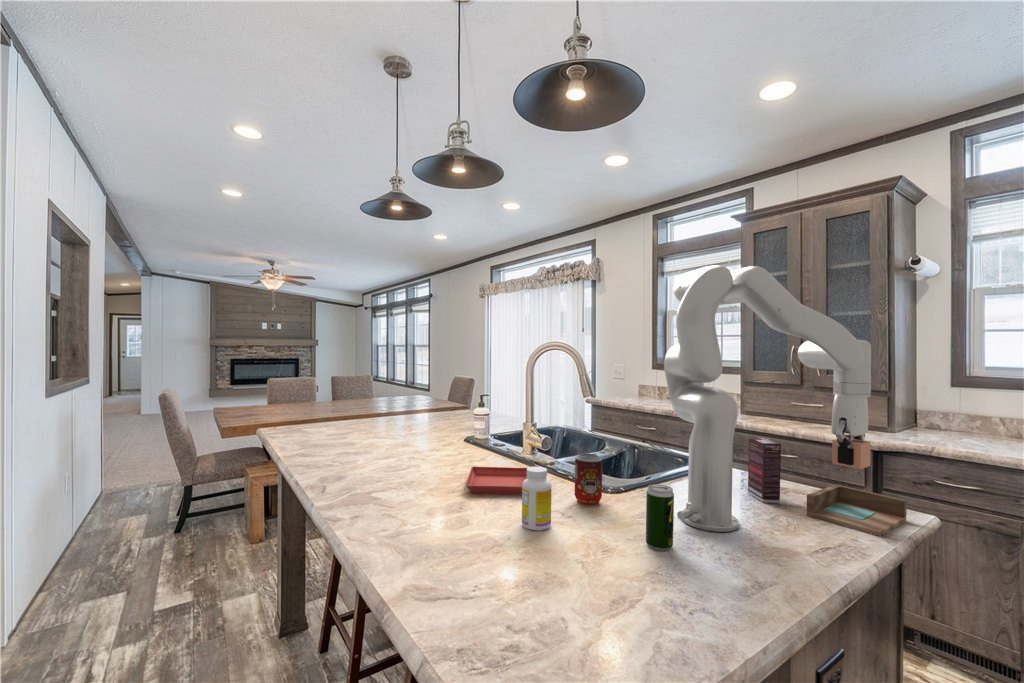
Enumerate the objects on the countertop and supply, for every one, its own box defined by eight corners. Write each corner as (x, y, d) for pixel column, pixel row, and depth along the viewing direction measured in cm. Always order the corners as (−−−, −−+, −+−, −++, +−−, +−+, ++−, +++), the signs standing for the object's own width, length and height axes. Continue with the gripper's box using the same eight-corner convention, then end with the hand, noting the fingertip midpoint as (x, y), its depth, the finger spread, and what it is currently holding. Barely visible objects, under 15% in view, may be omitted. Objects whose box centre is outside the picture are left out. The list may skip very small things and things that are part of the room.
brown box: (832, 463, 115) (832, 439, 115) (842, 460, 119) (842, 436, 119) (860, 469, 111) (861, 443, 111) (870, 465, 114) (870, 440, 114)
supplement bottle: (555, 523, 106) (556, 467, 106) (544, 533, 100) (545, 474, 100) (528, 518, 109) (529, 463, 109) (516, 528, 103) (517, 470, 103)
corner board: (880, 536, 102) (881, 514, 102) (806, 515, 114) (806, 494, 114) (906, 520, 112) (906, 500, 112) (835, 502, 124) (835, 484, 124)
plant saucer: (531, 498, 125) (531, 485, 125) (464, 496, 125) (465, 484, 125) (529, 478, 143) (529, 467, 143) (471, 477, 143) (471, 466, 143)
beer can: (645, 549, 93) (646, 490, 94) (645, 539, 99) (646, 482, 99) (673, 553, 92) (674, 493, 92) (672, 542, 97) (673, 485, 97)
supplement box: (781, 503, 123) (782, 443, 123) (762, 503, 123) (763, 443, 123) (764, 493, 131) (764, 437, 131) (746, 492, 131) (747, 436, 131)
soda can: (579, 507, 117) (580, 459, 117) (571, 498, 124) (571, 452, 124) (605, 506, 118) (606, 458, 118) (596, 497, 125) (597, 452, 125)
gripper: (848, 386, 123) (847, 454, 123) (819, 389, 113) (818, 463, 113) (882, 389, 117) (882, 460, 117) (855, 392, 107) (855, 470, 107)
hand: (851, 461), depth 115 cm, fingers closed on brown box, 6 cm apart
